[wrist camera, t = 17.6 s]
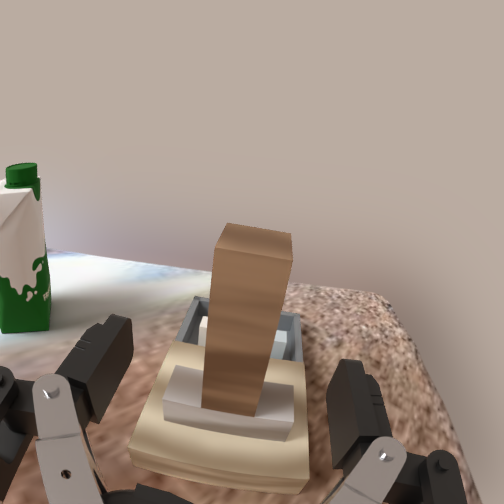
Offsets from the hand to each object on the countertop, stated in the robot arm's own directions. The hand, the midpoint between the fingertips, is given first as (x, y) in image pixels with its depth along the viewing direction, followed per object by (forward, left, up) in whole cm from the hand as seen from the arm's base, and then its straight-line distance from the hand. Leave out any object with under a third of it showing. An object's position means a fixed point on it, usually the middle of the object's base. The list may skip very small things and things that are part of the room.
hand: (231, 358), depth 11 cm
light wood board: (-2, +9, -18) cm, 20 cm away
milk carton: (-31, +11, -18) cm, 38 cm away
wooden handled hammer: (-1, +8, -14) cm, 16 cm away
